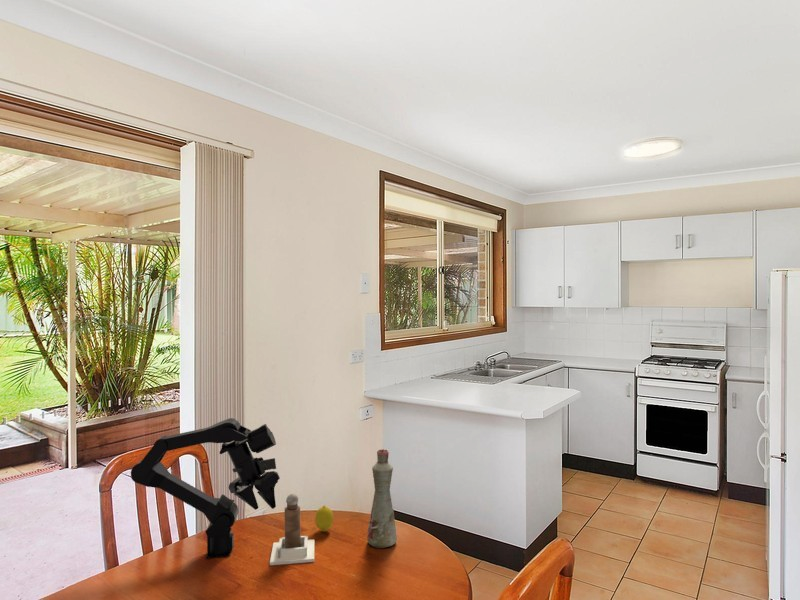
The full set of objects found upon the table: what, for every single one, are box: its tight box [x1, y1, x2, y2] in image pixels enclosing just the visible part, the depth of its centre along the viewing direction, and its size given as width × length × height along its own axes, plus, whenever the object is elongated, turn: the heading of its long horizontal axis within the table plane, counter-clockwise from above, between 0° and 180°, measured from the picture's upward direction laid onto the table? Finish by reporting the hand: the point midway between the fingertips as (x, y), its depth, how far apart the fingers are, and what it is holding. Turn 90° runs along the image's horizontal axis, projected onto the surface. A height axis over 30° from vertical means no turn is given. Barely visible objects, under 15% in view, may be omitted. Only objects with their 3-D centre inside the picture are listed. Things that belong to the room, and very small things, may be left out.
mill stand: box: [269, 535, 315, 566], centre depth 149 cm, size 12×12×3 cm
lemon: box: [314, 505, 334, 532], centre depth 164 cm, size 6×6×8 cm
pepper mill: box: [284, 493, 301, 548], centre depth 149 cm, size 4×4×16 cm
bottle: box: [366, 449, 398, 549], centre depth 155 cm, size 9×9×28 cm
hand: (265, 508), depth 152 cm, fingers open, 9 cm apart
